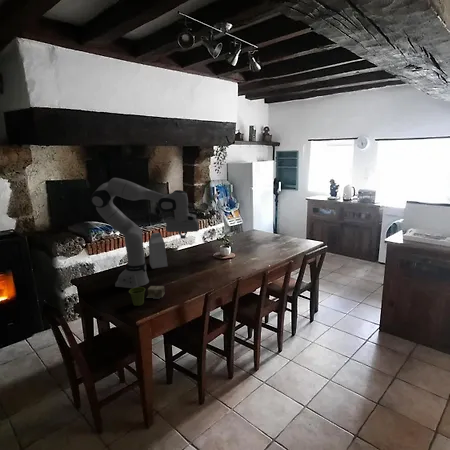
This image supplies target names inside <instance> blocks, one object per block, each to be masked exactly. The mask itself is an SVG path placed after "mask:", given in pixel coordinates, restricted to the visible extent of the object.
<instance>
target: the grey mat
mask: <svg viewBox="0 0 450 450" xmlns="http://www.w3.org/2000/svg"><path fill="white" fill-rule="evenodd" d="M146 298H153V299H154V300H155V299H158V300H161V299H162V297H148V295H147V296H145V299H146ZM160 298H161V299H160ZM153 299H152V300H153Z"/></svg>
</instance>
